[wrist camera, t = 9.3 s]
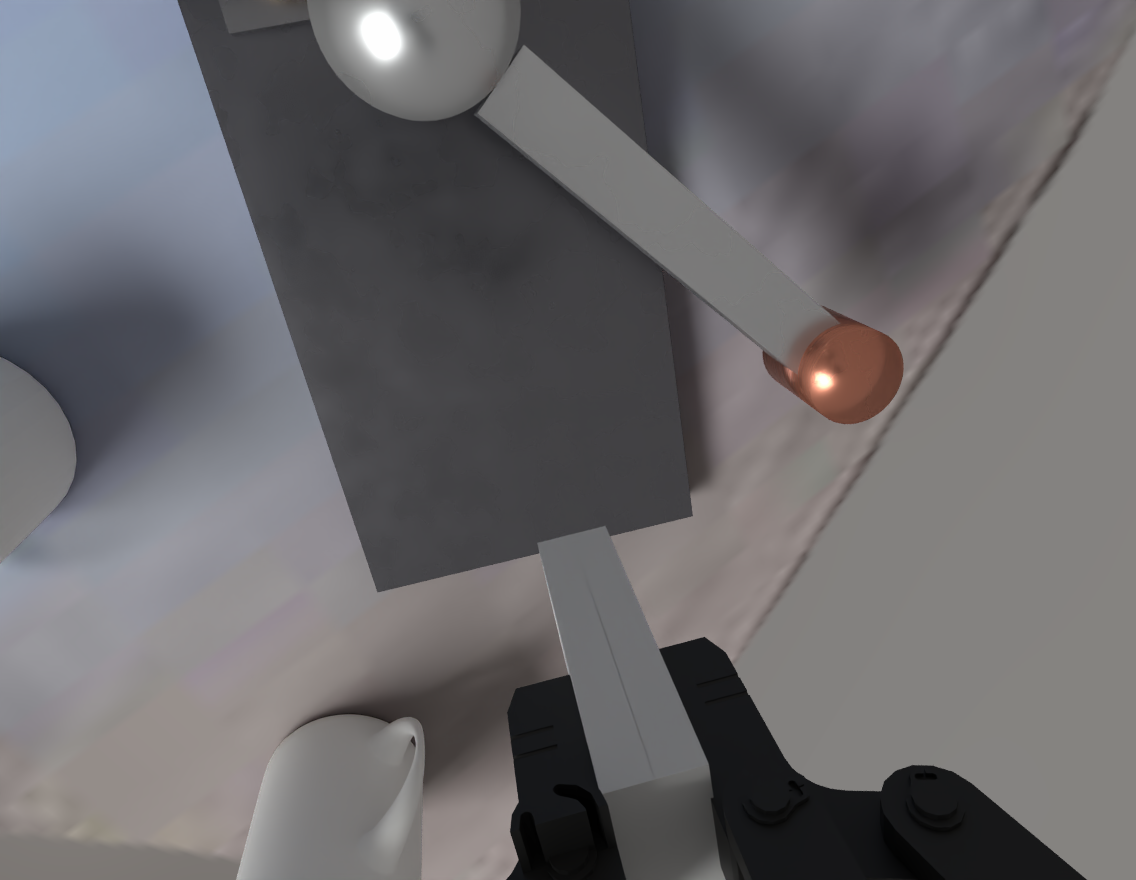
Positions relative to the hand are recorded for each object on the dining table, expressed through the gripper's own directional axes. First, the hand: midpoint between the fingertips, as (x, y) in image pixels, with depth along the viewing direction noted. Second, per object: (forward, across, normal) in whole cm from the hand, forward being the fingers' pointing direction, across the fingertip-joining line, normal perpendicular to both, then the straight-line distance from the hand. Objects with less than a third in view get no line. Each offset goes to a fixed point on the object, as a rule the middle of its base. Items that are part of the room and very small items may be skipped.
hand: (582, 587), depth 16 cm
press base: (+20, -1, +5) cm, 21 cm away
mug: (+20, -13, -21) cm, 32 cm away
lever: (+15, +4, +8) cm, 17 cm away
